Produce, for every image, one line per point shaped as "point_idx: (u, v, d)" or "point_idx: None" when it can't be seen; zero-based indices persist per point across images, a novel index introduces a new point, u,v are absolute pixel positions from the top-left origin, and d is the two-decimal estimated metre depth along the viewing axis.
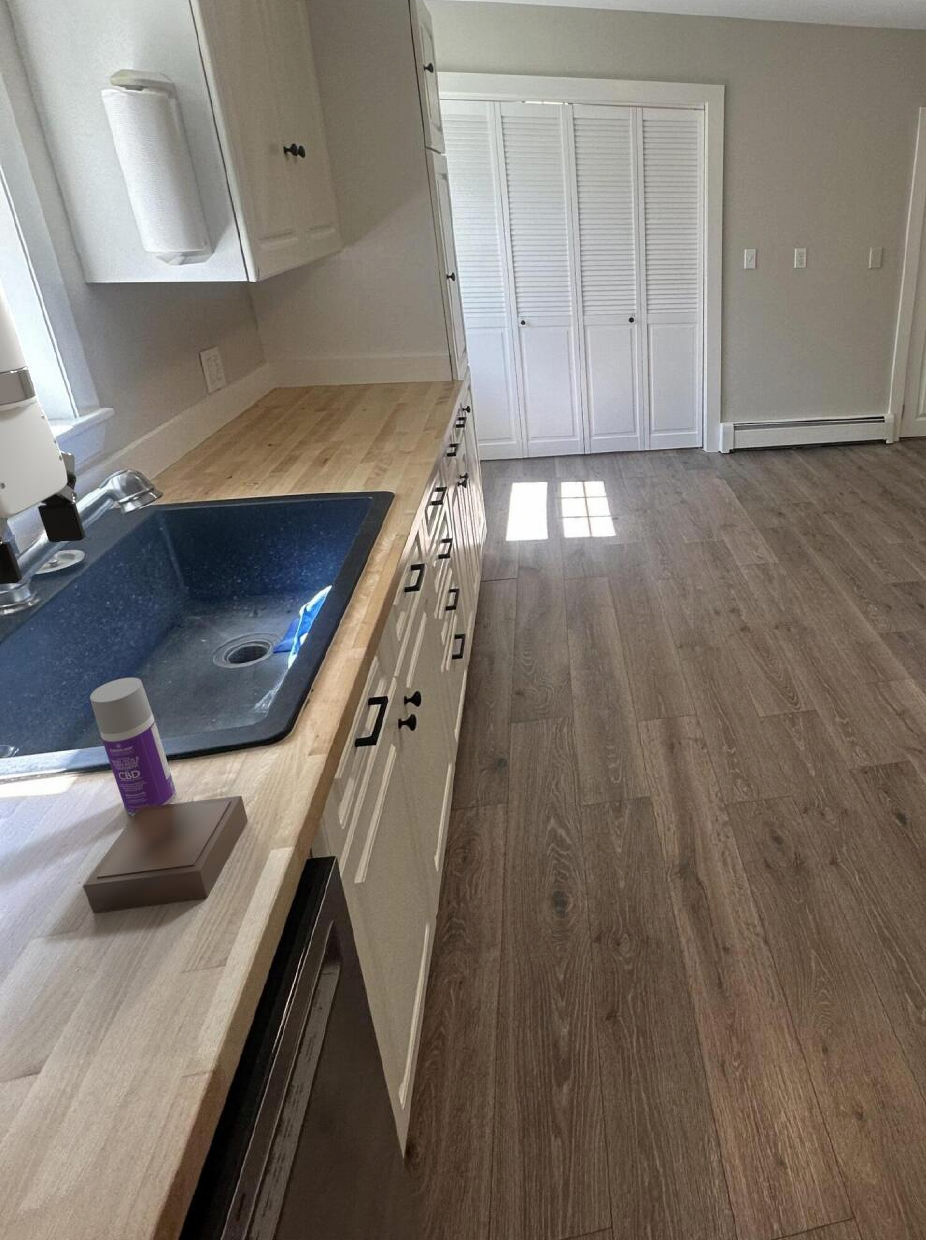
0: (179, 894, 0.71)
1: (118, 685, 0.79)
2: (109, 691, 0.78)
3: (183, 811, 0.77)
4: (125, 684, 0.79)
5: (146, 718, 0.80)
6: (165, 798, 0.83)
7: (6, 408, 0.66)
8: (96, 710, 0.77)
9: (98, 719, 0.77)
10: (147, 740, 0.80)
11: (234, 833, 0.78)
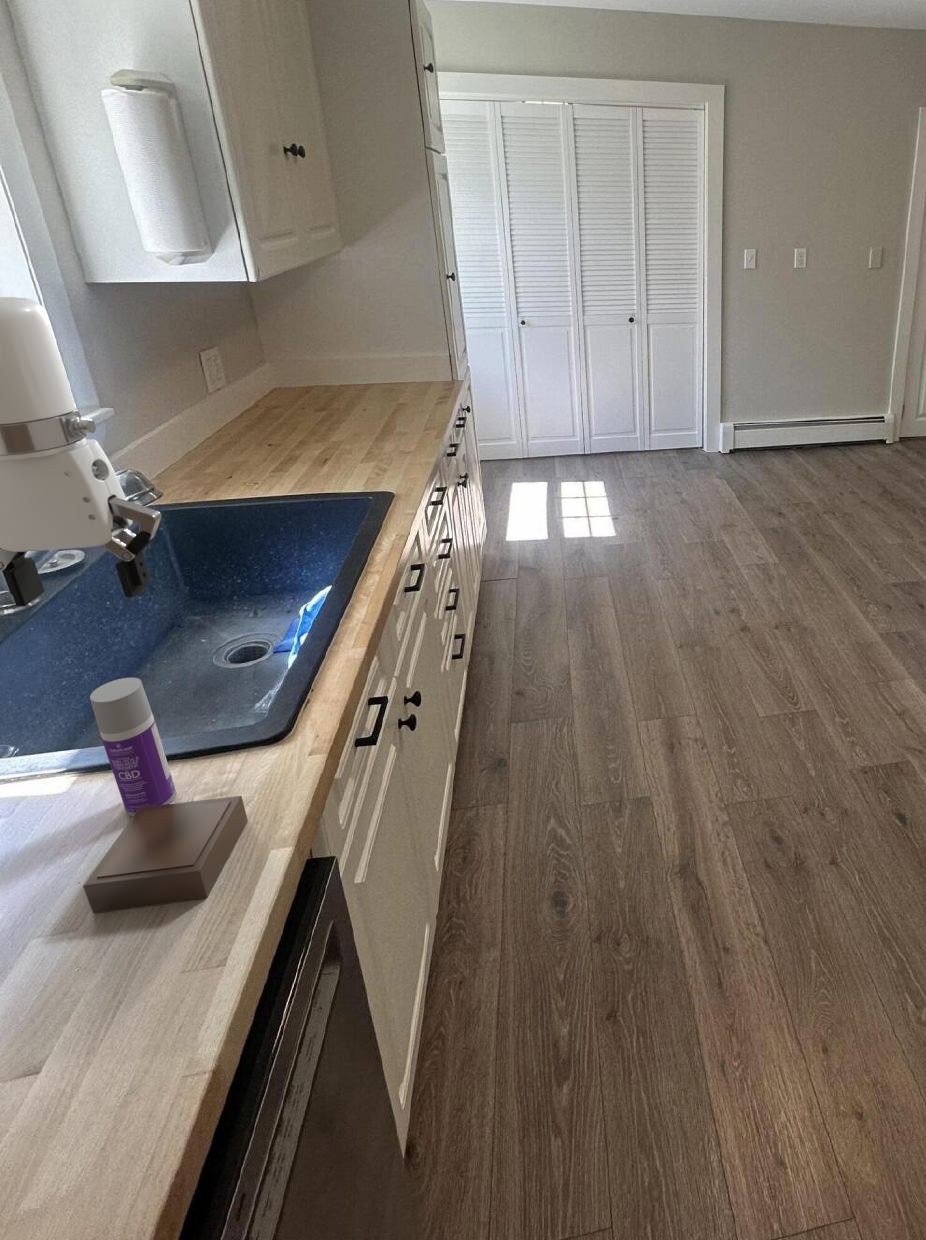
0: (179, 894, 0.71)
1: (118, 685, 0.79)
2: (109, 691, 0.78)
3: (183, 811, 0.77)
4: (125, 684, 0.79)
5: (146, 718, 0.80)
6: (165, 798, 0.83)
7: None
8: (96, 710, 0.77)
9: (98, 719, 0.77)
10: (147, 739, 0.80)
11: (234, 833, 0.78)
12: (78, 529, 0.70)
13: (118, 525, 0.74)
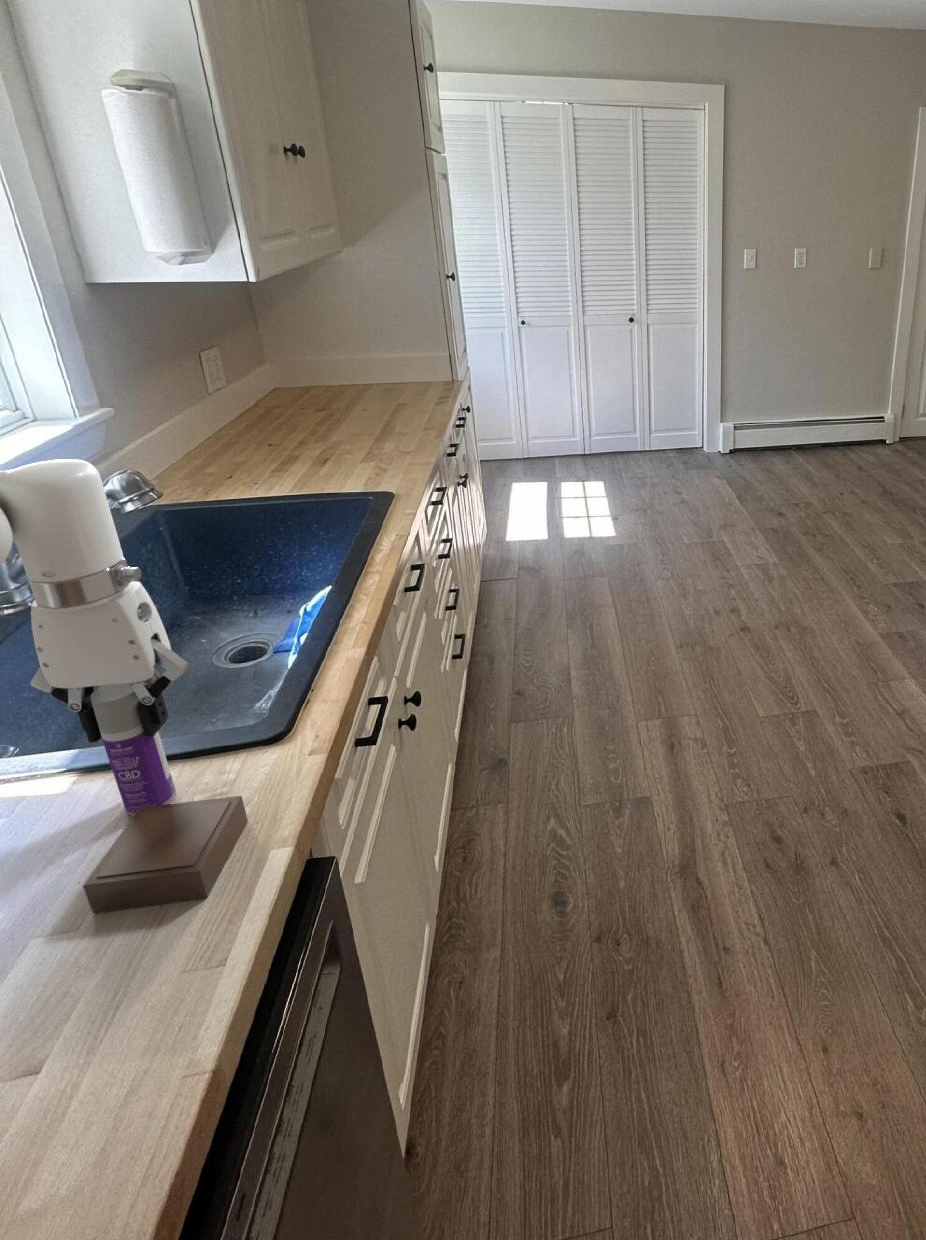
0: (179, 894, 0.71)
1: (118, 685, 0.79)
2: (110, 691, 0.78)
3: (183, 811, 0.77)
4: (125, 684, 0.79)
5: None
6: (165, 798, 0.83)
7: (42, 609, 0.71)
8: (96, 710, 0.77)
9: (98, 719, 0.77)
10: (147, 739, 0.80)
11: (234, 833, 0.78)
12: (123, 668, 0.76)
13: None
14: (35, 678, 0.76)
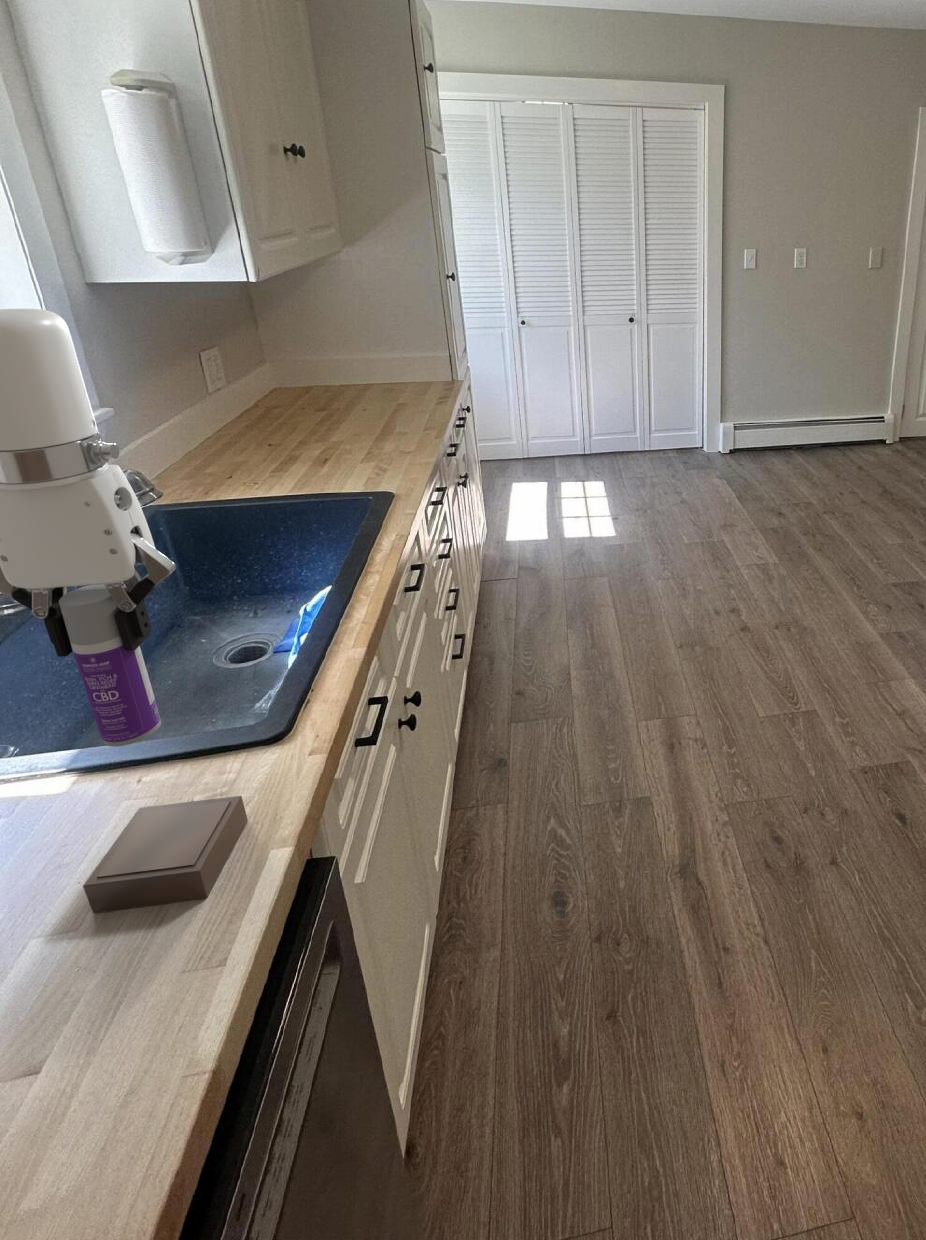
0: (179, 894, 0.71)
1: (93, 590, 0.67)
2: (82, 595, 0.66)
3: (183, 811, 0.77)
4: (101, 588, 0.67)
5: None
6: (148, 727, 0.71)
7: None
8: (66, 616, 0.65)
9: (69, 627, 0.65)
10: (127, 655, 0.68)
11: (234, 833, 0.78)
12: (98, 564, 0.64)
13: None
14: None
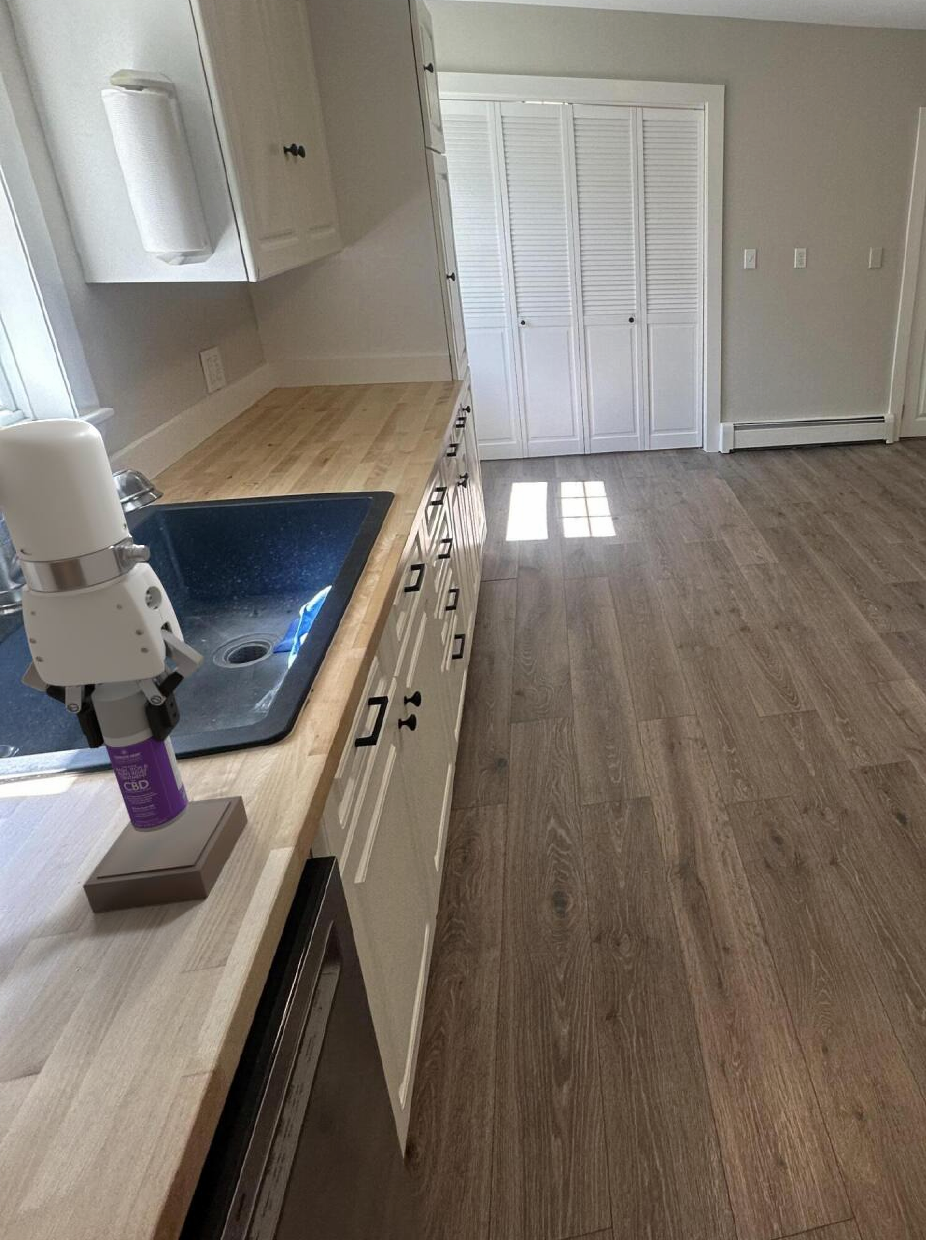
0: (179, 894, 0.71)
1: (124, 682, 0.69)
2: (114, 689, 0.68)
3: None
4: (131, 681, 0.69)
5: None
6: (177, 811, 0.72)
7: (34, 594, 0.61)
8: (98, 711, 0.67)
9: (101, 721, 0.67)
10: (157, 745, 0.70)
11: (234, 833, 0.78)
12: (129, 663, 0.65)
13: None
14: (27, 674, 0.66)
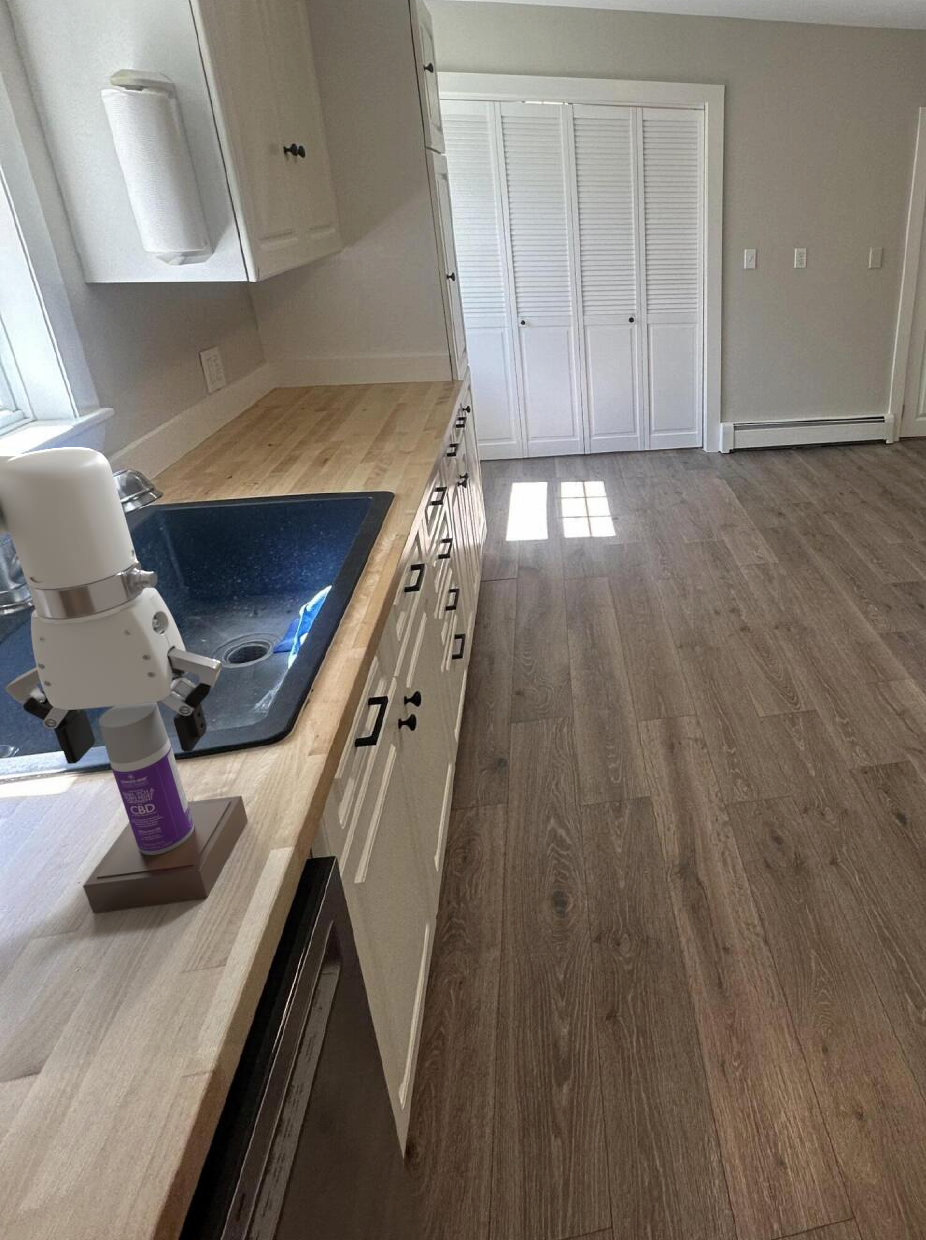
0: (179, 894, 0.71)
1: (130, 707, 0.70)
2: (121, 715, 0.69)
3: None
4: (138, 706, 0.70)
5: (162, 744, 0.70)
6: (182, 834, 0.73)
7: (43, 620, 0.62)
8: (106, 736, 0.68)
9: (108, 747, 0.68)
10: (163, 769, 0.71)
11: (234, 833, 0.78)
12: (136, 687, 0.66)
13: (176, 675, 0.70)
14: (15, 684, 0.66)
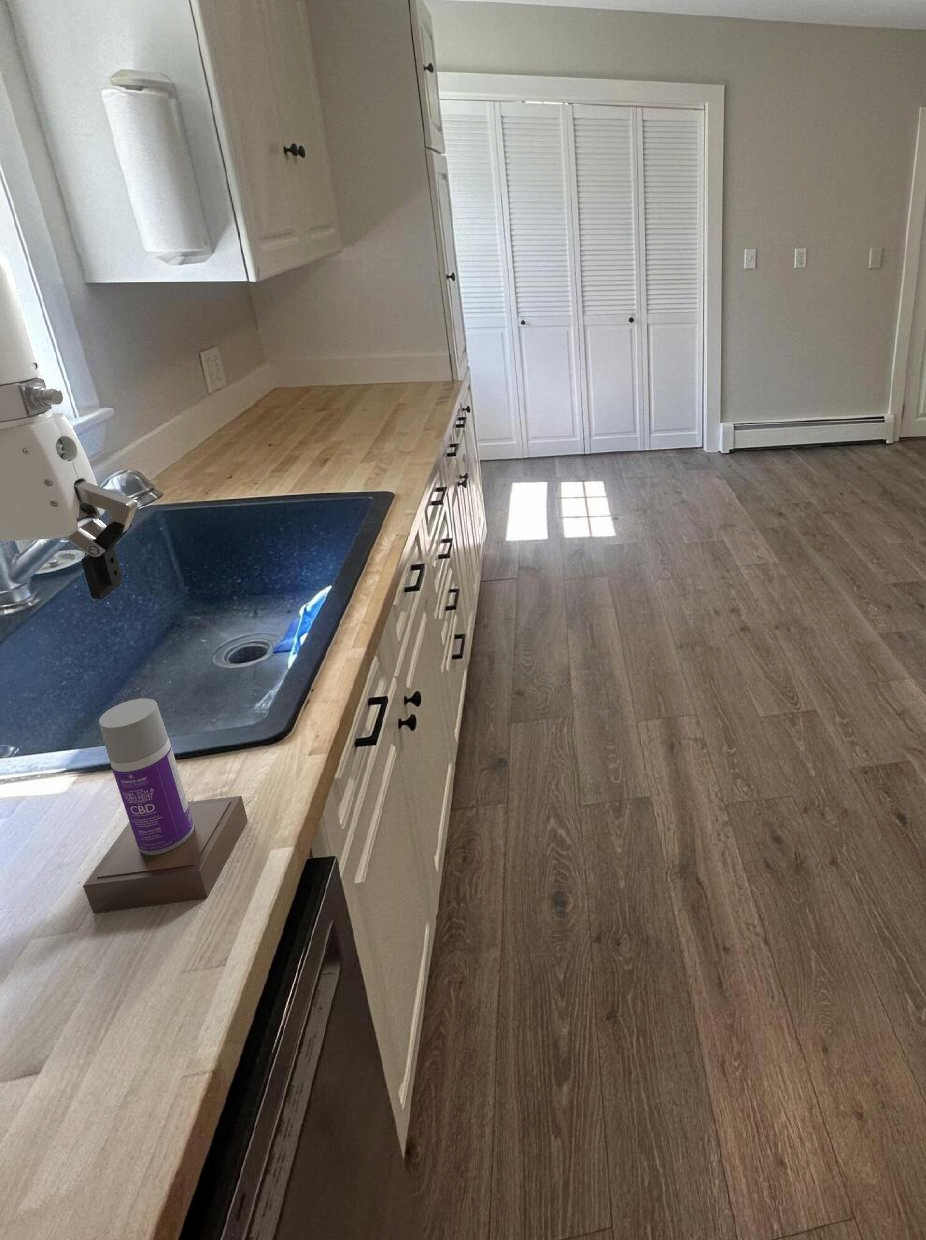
0: (179, 894, 0.71)
1: (130, 707, 0.70)
2: (121, 715, 0.69)
3: None
4: (138, 706, 0.70)
5: (162, 744, 0.70)
6: (182, 834, 0.73)
7: None
8: (106, 736, 0.68)
9: (108, 746, 0.68)
10: (163, 769, 0.71)
11: (234, 833, 0.78)
12: (37, 517, 0.60)
13: (86, 515, 0.63)
14: None
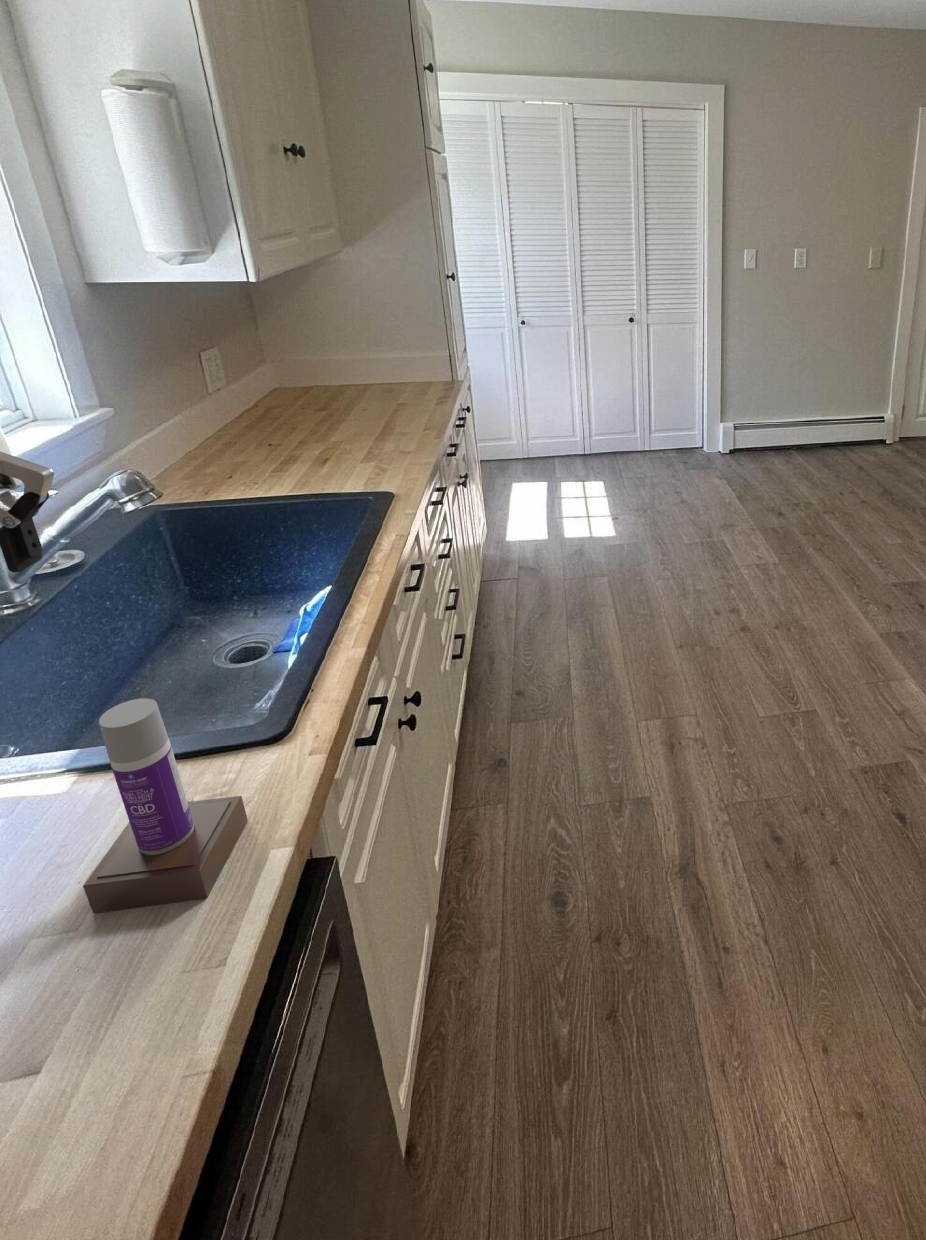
0: (179, 894, 0.71)
1: (130, 707, 0.70)
2: (121, 715, 0.69)
3: None
4: (138, 706, 0.70)
5: (162, 744, 0.70)
6: (182, 834, 0.73)
7: None
8: (106, 736, 0.68)
9: (108, 746, 0.68)
10: (163, 769, 0.71)
11: (234, 833, 0.78)
12: None
13: (1, 485, 0.62)
14: None
